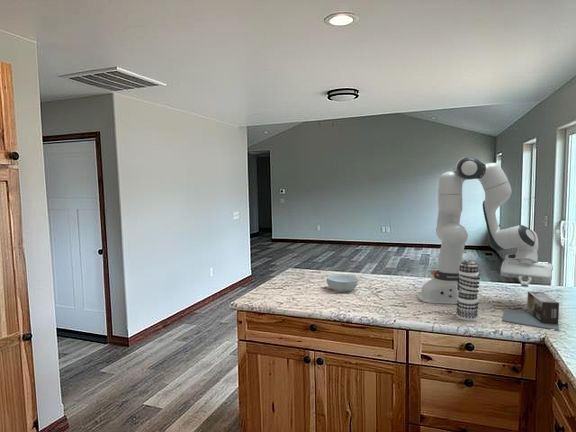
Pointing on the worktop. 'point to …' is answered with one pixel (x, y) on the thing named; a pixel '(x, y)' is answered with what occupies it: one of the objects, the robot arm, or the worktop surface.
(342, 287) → the cereal bowl
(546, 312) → the coffee box
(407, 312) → the worktop surface
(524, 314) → the rubber mat
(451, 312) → the worktop surface
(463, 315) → the decorative candle
